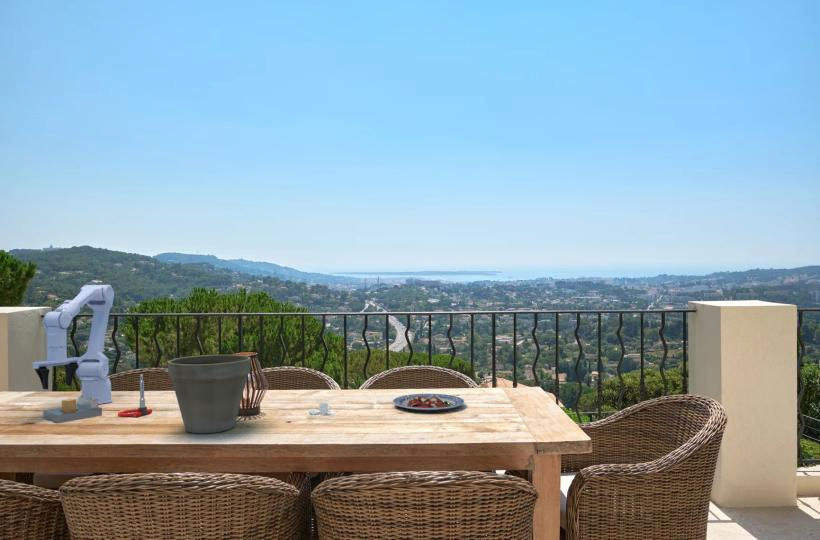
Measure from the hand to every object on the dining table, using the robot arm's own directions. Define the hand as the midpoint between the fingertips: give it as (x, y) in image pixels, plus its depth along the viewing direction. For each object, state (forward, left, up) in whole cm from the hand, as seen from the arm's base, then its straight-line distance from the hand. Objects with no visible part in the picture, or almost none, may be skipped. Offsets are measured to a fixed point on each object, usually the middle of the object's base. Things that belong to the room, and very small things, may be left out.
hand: (57, 387), depth 212 cm
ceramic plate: (-91, +88, -10) cm, 127 cm away
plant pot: (-24, +54, -10) cm, 60 cm away
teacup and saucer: (-60, +66, -11) cm, 90 cm away
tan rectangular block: (-2, +5, -10) cm, 11 cm away
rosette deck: (-3, +4, -10) cm, 11 cm away
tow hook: (-18, +17, -10) cm, 27 cm away
